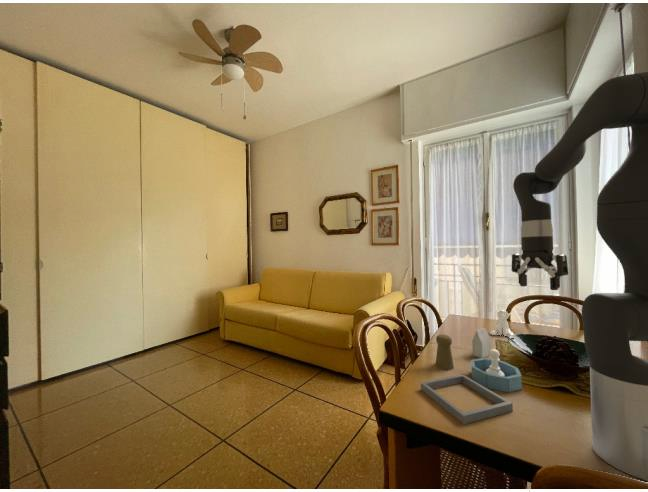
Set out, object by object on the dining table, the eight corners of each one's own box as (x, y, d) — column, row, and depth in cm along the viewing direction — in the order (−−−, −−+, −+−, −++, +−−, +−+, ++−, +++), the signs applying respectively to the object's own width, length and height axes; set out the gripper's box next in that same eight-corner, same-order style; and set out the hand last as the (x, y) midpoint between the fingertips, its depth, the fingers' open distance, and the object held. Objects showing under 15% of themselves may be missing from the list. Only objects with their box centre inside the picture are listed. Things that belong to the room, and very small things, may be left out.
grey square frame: (512, 410, 65) (512, 403, 65) (464, 424, 60) (463, 416, 60) (462, 380, 80) (462, 374, 80) (420, 389, 76) (420, 382, 76)
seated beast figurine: (490, 335, 120) (489, 310, 121) (491, 330, 127) (490, 307, 127) (514, 339, 115) (513, 313, 115) (514, 334, 122) (513, 309, 122)
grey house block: (491, 354, 100) (490, 329, 100) (482, 358, 96) (481, 332, 96) (481, 351, 103) (480, 326, 103) (472, 355, 99) (471, 329, 99)
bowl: (531, 386, 76) (530, 373, 76) (499, 394, 72) (498, 380, 72) (491, 367, 88) (491, 356, 88) (462, 373, 85) (462, 361, 85)
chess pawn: (484, 378, 80) (483, 350, 80) (487, 372, 84) (486, 345, 84) (503, 383, 77) (502, 354, 77) (505, 376, 80) (504, 348, 81)
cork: (456, 370, 87) (455, 338, 87) (437, 369, 88) (436, 338, 88) (451, 362, 93) (450, 333, 93) (433, 361, 94) (433, 332, 94)
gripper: (573, 234, 71) (575, 290, 71) (521, 236, 85) (522, 284, 85) (555, 234, 69) (556, 292, 69) (504, 236, 83) (506, 285, 83)
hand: (538, 287), depth 77 cm, fingers open, 8 cm apart
